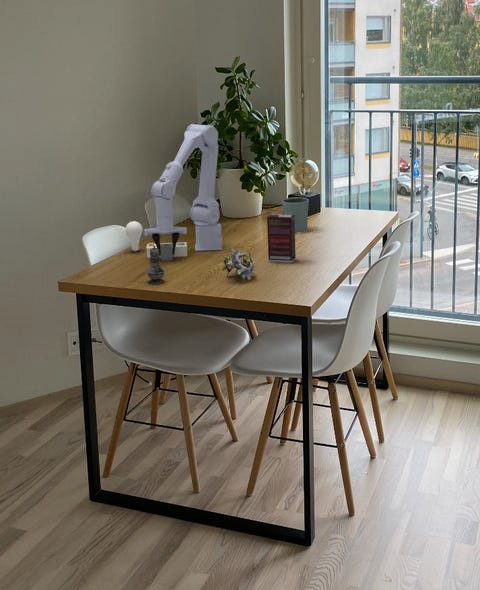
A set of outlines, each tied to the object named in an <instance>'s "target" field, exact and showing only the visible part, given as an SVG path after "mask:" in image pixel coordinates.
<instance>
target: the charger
mask: <svg viewBox="0 0 480 590" xmlns="http://www.w3.org/2000/svg"><path fill="white" fill-rule="evenodd" d="M168 243H169V244H161V245H160V249H161V257H160V259H161V260H160V262H162V261H164V262H165V261H173V260H174V257H173V253H172V250H173V249H172V242H168Z"/></svg>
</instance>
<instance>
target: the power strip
mask: <svg viewBox="0 0 480 590" xmlns="http://www.w3.org/2000/svg"><path fill="white" fill-rule="evenodd" d="M169 243H170V242H168V243H167V242H163V243H161V242H160V245H161V244H169ZM187 243H188V242H186V241H184V242H183V241H181V242H177V244H176V247H175V255H173V258H175V257H187V256H188V245H187ZM154 245H155V248H157V246H156V244H155V242H148V243H147V244H146V258H147V259H150V250H151V249H152V248H154V247H153V246H154ZM172 249H173V244H172ZM159 258H161V256H159Z"/></svg>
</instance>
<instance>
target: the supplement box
mask: <svg viewBox="0 0 480 590" xmlns="http://www.w3.org/2000/svg"><path fill="white" fill-rule="evenodd" d="M266 222H267V223H266V225H267V247H268V248H267V253H268V254H267V255H268V256H267V257H268V258H267V259H268V262H269V263H286V264H287V263H288V264H293V263H294V262H295V261H296V259H297V257H296V254H297V253H296V233H295V215H294V214H284V213H269V214H268V215H267V216H266Z"/></svg>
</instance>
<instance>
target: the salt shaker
mask: <svg viewBox="0 0 480 590" xmlns="http://www.w3.org/2000/svg"><path fill="white" fill-rule="evenodd" d="M153 247H154V248H152V249H151V250H150V258H148V259H149V263H150V268H149V269H147V270H146V274H147V276H148V278H149V280H148V281H147V283H148V284H149V283H150V285H160V284H161V285H162V284H164V283H165V282H166V281H165V280H164V279H163V277H164V275H165V272H166V271H165V269H164V268H161V257H159V249H157V248H155V245H154V246H153Z"/></svg>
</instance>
